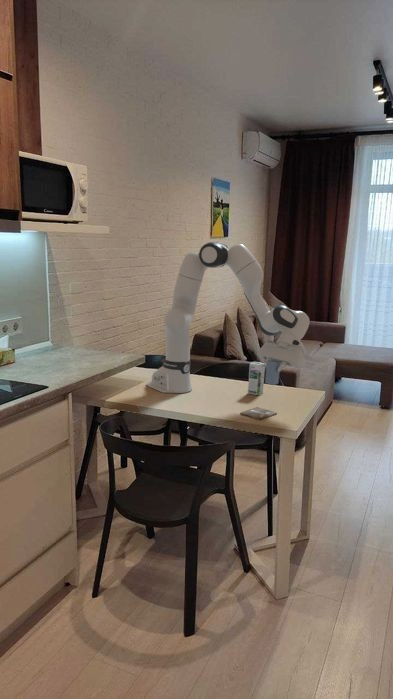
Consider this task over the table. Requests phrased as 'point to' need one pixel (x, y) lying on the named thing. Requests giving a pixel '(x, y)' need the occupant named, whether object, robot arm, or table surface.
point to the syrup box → (256, 378)
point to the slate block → (272, 373)
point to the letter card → (258, 413)
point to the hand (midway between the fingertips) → (272, 369)
